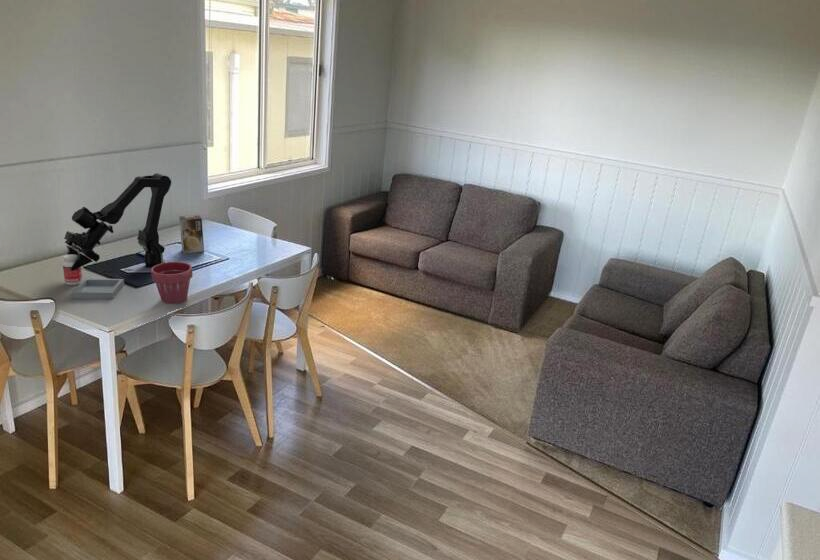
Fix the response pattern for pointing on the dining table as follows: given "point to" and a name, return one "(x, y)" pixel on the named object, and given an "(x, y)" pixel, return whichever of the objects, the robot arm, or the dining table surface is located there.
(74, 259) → the pill bottle
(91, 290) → the tray
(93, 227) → the robot arm
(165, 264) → the plant pot
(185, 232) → the coffee box
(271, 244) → the dining table surface
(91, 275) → the dining table surface
